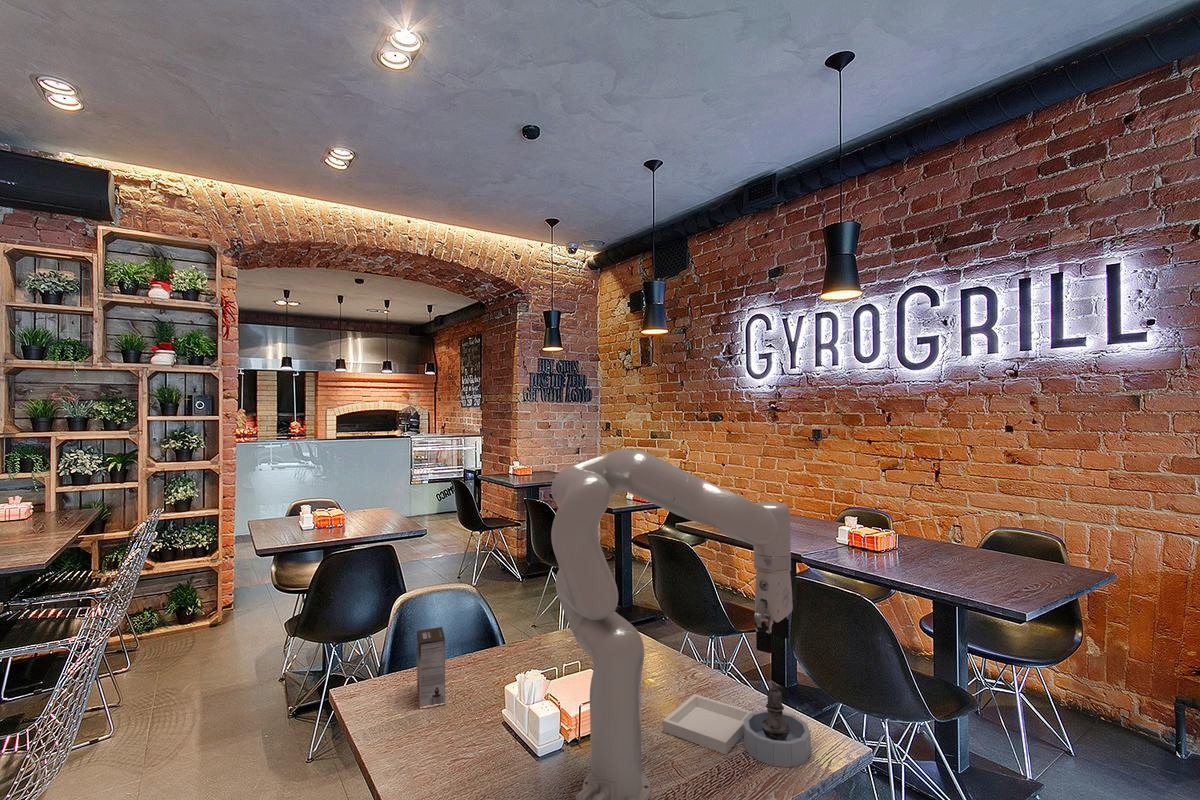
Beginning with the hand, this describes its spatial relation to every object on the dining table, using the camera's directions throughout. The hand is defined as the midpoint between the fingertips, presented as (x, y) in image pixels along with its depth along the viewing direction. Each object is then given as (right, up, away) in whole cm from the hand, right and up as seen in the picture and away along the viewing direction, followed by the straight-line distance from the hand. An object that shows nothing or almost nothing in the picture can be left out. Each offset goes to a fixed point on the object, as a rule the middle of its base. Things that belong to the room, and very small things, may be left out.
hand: (773, 644), depth 121 cm
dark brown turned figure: (0, -21, -1) cm, 21 cm away
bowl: (+1, -21, -1) cm, 21 cm away
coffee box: (-78, -24, +22) cm, 85 cm away
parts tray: (-12, -22, +8) cm, 26 cm away
